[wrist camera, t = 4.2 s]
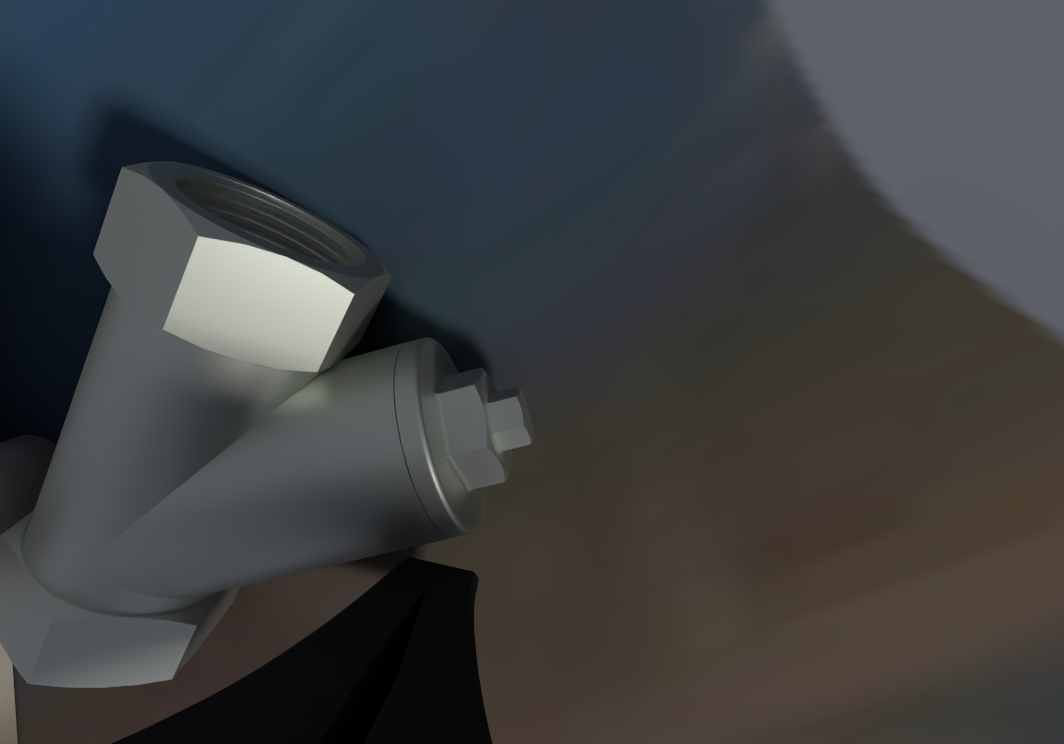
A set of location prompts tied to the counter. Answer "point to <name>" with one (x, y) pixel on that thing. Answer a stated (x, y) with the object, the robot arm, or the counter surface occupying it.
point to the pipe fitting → (233, 432)
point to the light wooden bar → (3, 500)
